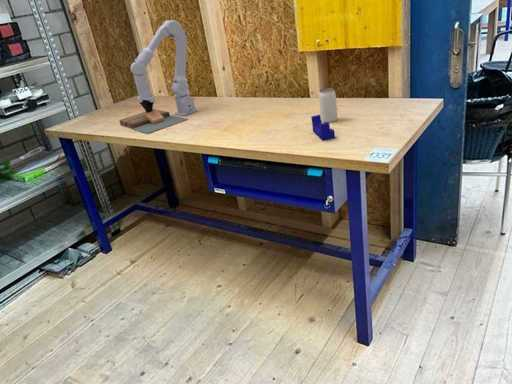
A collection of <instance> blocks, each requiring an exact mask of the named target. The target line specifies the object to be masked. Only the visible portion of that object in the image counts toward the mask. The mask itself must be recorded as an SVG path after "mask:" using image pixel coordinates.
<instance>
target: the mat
mask: <svg viewBox="0 0 512 384" xmlns="http://www.w3.org/2000/svg"><path fill="white" fill-rule="evenodd" d="M188 120H189V118H185V117H182V116H181V117H180V116H176V115H170V116H169V117H166V118H164V121H161V122H158V123H155V124H152V123H148V124H145V125H142V126H139V127H137V128H134V129H132V131H136V132H139V133H143V134H147V135H149V134H153V133H155V132H158V131H161V130H163V129H167V128H169V127H172V126H175V125H177V124H180V123H182V122H185V121H188Z"/></svg>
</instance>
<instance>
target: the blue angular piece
mask: <svg viewBox="0 0 512 384" xmlns="http://www.w3.org/2000/svg"><path fill="white" fill-rule="evenodd" d="M311 126H312V131H313V133H314V134H315V135H316V136H317V137H318V138H319V139H320V140H321V141H322V142H324V141H328V140H334V139H336V136H335V135H336V134H335V130H334V129H333V128H331V127H330V123H329V122H326V123H325V122H322V121H321V114H318V115H317V114H316V115H312V116H311Z"/></svg>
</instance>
